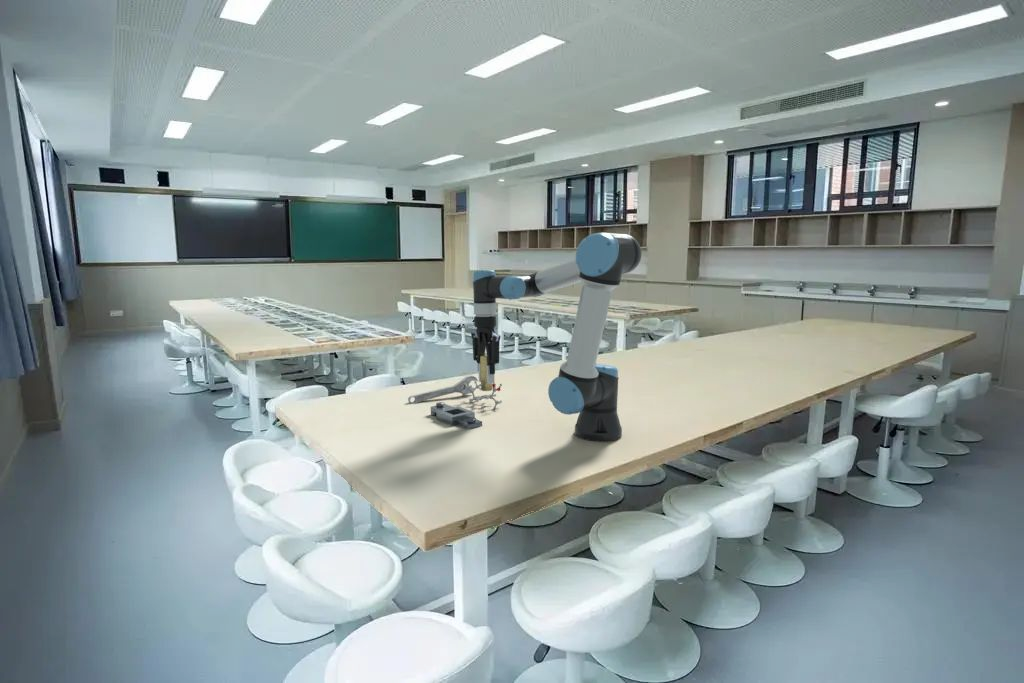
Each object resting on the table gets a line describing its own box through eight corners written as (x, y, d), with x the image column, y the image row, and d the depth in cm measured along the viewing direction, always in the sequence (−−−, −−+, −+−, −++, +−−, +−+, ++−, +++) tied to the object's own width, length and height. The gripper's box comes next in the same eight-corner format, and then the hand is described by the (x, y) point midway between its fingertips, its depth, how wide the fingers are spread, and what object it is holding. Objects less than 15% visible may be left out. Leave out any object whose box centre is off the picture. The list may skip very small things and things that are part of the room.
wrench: (409, 409, 218) (477, 392, 231) (411, 411, 216) (479, 393, 230) (406, 390, 216) (475, 373, 230) (408, 391, 214) (477, 374, 228)
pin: (494, 389, 192) (494, 355, 190) (485, 391, 190) (485, 357, 188) (487, 387, 195) (486, 354, 193) (478, 389, 193) (477, 355, 191)
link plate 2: (486, 424, 189) (486, 417, 189) (463, 430, 183) (463, 423, 183) (458, 414, 201) (458, 407, 201) (436, 419, 195) (436, 412, 195)
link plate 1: (474, 420, 194) (474, 409, 193) (452, 425, 188) (452, 414, 187) (448, 410, 206) (448, 400, 205) (426, 415, 200) (426, 404, 199)
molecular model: (458, 402, 218) (458, 377, 218) (480, 400, 224) (481, 376, 223) (483, 412, 202) (484, 385, 202) (506, 409, 208) (507, 383, 207)
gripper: (509, 316, 185) (510, 384, 188) (478, 313, 197) (480, 377, 201) (492, 317, 180) (493, 387, 183) (461, 314, 193) (463, 380, 196)
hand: (486, 382), depth 192 cm, fingers closed on pin, 4 cm apart
